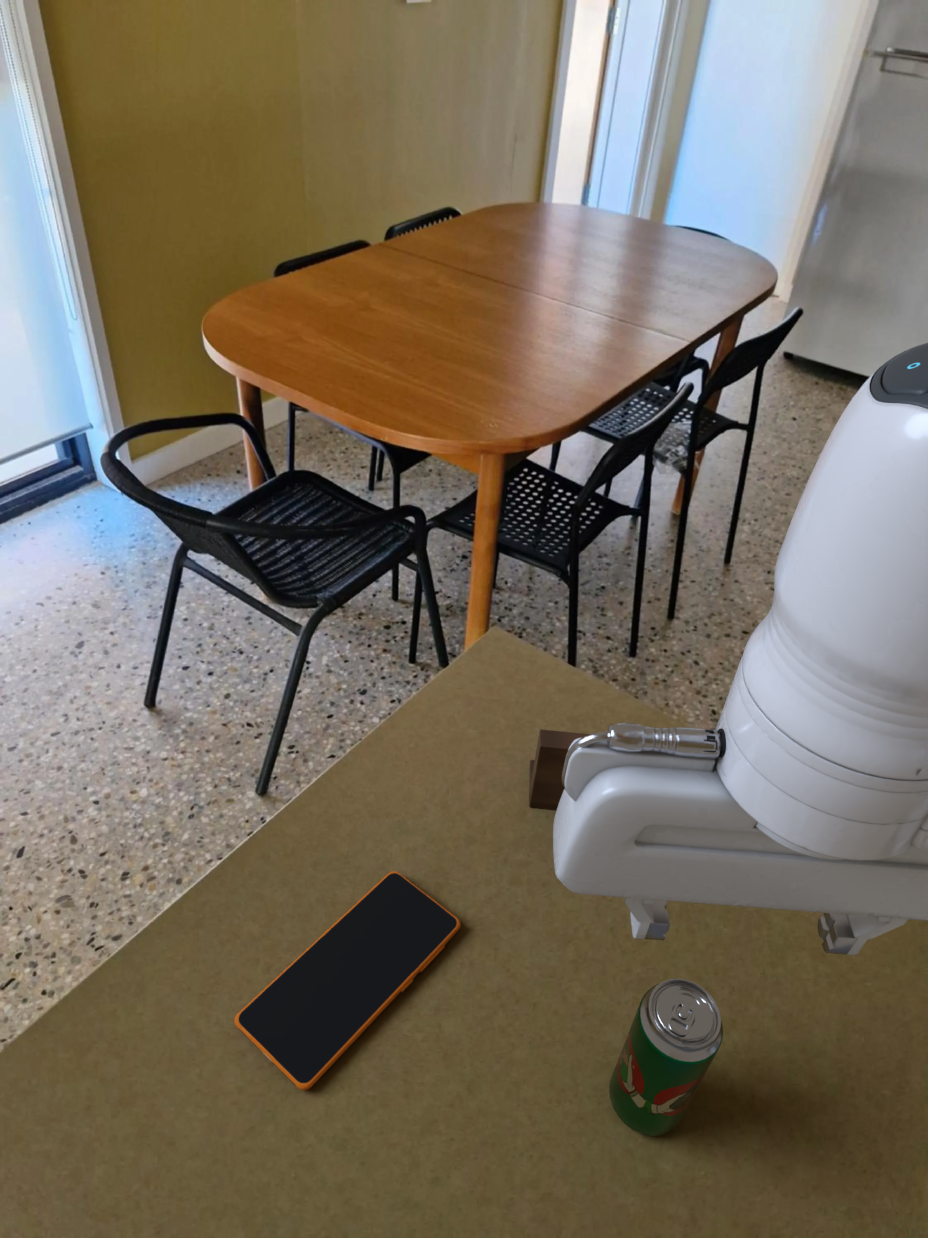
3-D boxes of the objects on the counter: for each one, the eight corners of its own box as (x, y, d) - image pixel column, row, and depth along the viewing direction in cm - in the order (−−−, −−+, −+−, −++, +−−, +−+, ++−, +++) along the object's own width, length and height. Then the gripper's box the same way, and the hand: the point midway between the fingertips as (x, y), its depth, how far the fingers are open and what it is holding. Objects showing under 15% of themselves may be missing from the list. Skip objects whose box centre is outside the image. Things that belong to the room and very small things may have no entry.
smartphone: (231, 1024, 62) (229, 1018, 62) (393, 873, 73) (393, 867, 72) (305, 1098, 59) (304, 1093, 58) (464, 928, 69) (465, 922, 69)
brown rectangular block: (700, 781, 83) (721, 721, 78) (708, 824, 79) (731, 764, 74) (529, 765, 83) (539, 704, 78) (529, 807, 79) (540, 746, 74)
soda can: (692, 1087, 61) (738, 1000, 54) (666, 1156, 58) (712, 1073, 50) (624, 1047, 63) (659, 957, 55) (595, 1112, 59) (629, 1025, 52)
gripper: (577, 784, 33) (532, 979, 41) (1127, 827, 33) (966, 1011, 42) (568, 668, 37) (530, 864, 46) (1047, 707, 38) (918, 894, 46)
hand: (740, 934), depth 44 cm, fingers open, 8 cm apart
